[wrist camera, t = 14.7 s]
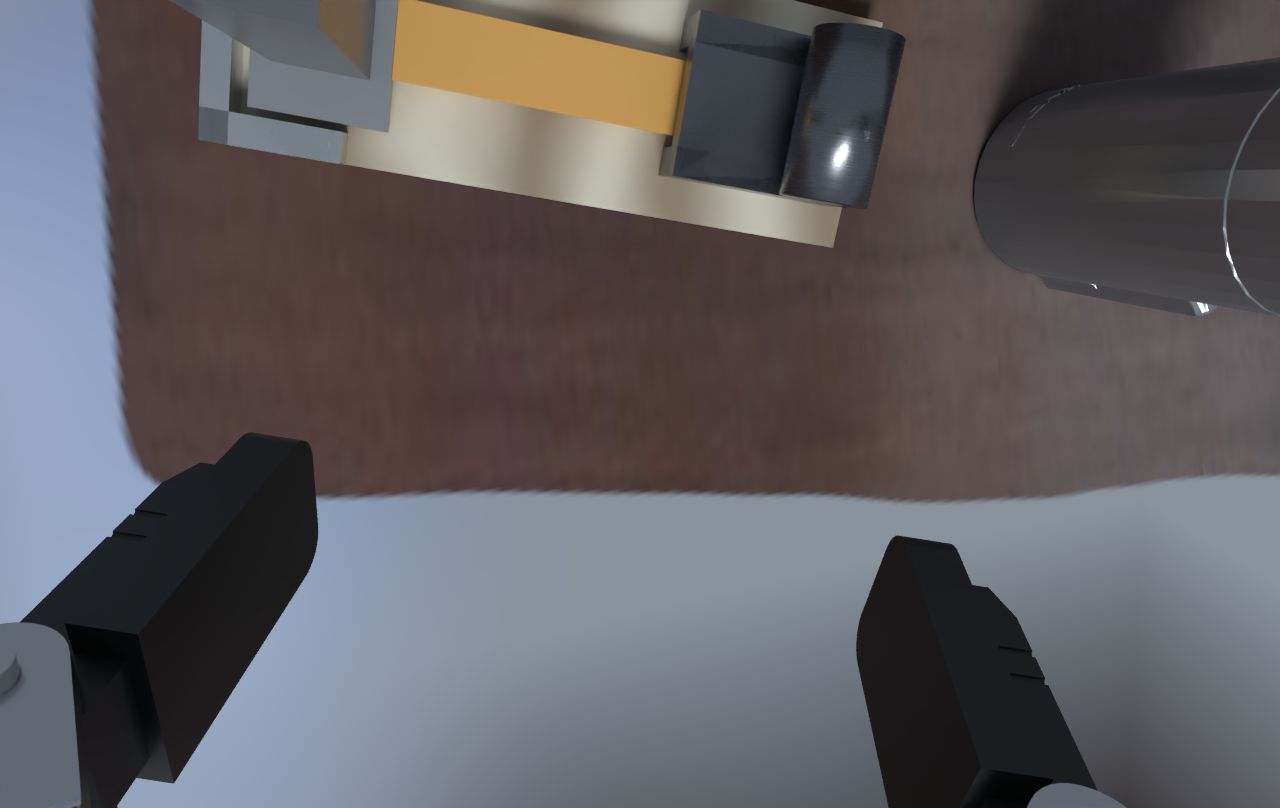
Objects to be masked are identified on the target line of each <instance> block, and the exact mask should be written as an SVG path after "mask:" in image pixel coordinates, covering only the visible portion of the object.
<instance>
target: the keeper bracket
mask: <svg viewBox="0 0 1280 808" xmlns="http://www.w3.org/2000/svg"><path fill="white" fill-rule="evenodd" d="M243 47H244V45H243V44H242V43H240V42H238V41H237V40H235V39H233V38H232V37H230V36H228V35H227V34H225V33H223V32H222V31H220V30H218V29H217V28H215V27H213V26H211V25H210V24H208V23H206V22H205V21H203V20H202V37H201V67H200V96H199V125H198V140H202V141H208V142H214V143H220V144H226V145H232V146H237V147H243V148H249V149H255V150H261V151H267V152H273V153H278V154H284V155H290V156H296V157H302V158H308V159H314V160H319V161H325V162H331V163H337V164H346V153H347V140H348V134H347V133H344V132H340V131H335V130H329V129H324V128H318V127H312V126H307V125H301V124H296V123H290V122H285V121H279V120H274V119H268V118H263V117H257V116H251V115H246V114H240V113H241V91H242V69H243Z"/></svg>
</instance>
